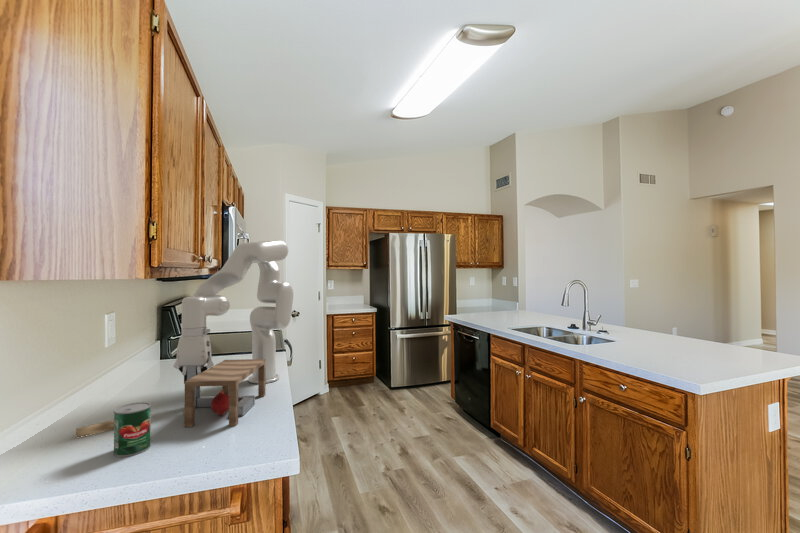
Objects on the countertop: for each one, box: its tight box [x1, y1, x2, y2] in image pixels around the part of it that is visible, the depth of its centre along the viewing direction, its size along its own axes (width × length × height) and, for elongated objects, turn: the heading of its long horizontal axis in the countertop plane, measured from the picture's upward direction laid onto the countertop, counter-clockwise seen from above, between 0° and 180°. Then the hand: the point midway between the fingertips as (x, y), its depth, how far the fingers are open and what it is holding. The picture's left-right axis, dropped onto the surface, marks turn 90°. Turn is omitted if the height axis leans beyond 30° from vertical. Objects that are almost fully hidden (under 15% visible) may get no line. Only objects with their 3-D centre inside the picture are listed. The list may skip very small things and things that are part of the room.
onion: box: [210, 389, 229, 416], centre depth 121 cm, size 6×6×8 cm
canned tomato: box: [113, 401, 152, 458], centre depth 98 cm, size 8×8×11 cm
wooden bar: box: [75, 419, 114, 438], centre depth 111 cm, size 14×2×2 cm, turn 139°
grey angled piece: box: [187, 366, 256, 417], centre depth 126 cm, size 12×22×18 cm, turn 93°
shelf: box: [183, 358, 267, 428], centre depth 127 cm, size 29×15×14 cm, turn 3°
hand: (193, 385), depth 130 cm, fingers closed on grey angled piece, 3 cm apart
